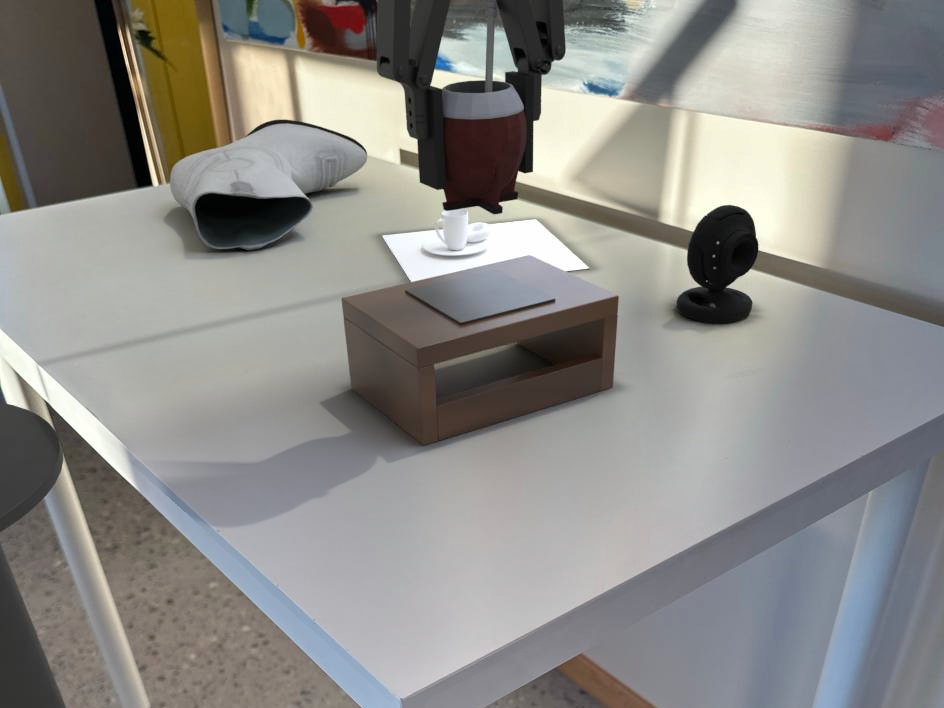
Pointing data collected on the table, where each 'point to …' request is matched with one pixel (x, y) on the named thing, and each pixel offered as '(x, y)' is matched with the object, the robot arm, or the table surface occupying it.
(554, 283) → the shelf
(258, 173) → the cowboy boot
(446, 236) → the teacup and saucer
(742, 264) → the webcam
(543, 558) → the table surface
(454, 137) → the mate gourd
